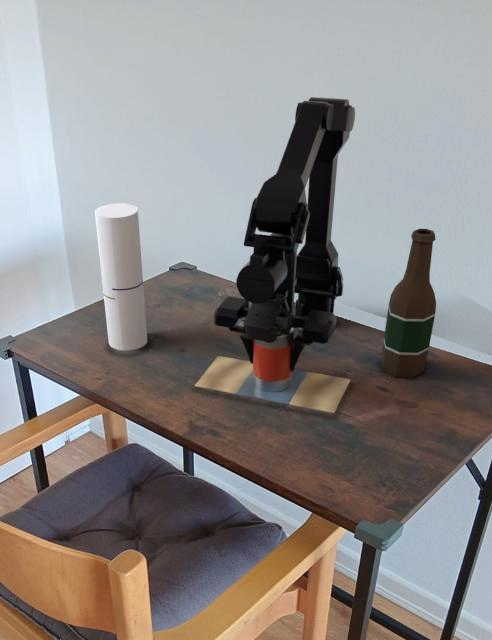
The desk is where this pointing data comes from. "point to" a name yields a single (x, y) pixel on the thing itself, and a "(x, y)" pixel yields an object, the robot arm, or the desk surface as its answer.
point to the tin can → (273, 363)
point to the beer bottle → (411, 312)
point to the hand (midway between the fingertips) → (272, 366)
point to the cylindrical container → (122, 275)
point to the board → (309, 393)
